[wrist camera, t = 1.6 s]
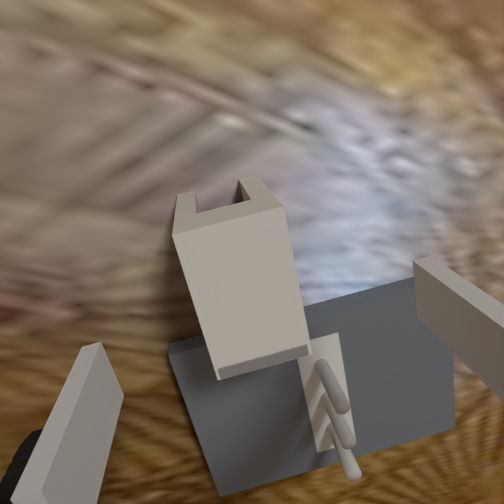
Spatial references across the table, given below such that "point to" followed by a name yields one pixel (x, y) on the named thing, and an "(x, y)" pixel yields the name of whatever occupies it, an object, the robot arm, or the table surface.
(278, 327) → the housing
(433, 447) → the table surface
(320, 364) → the board
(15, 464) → the robot arm
